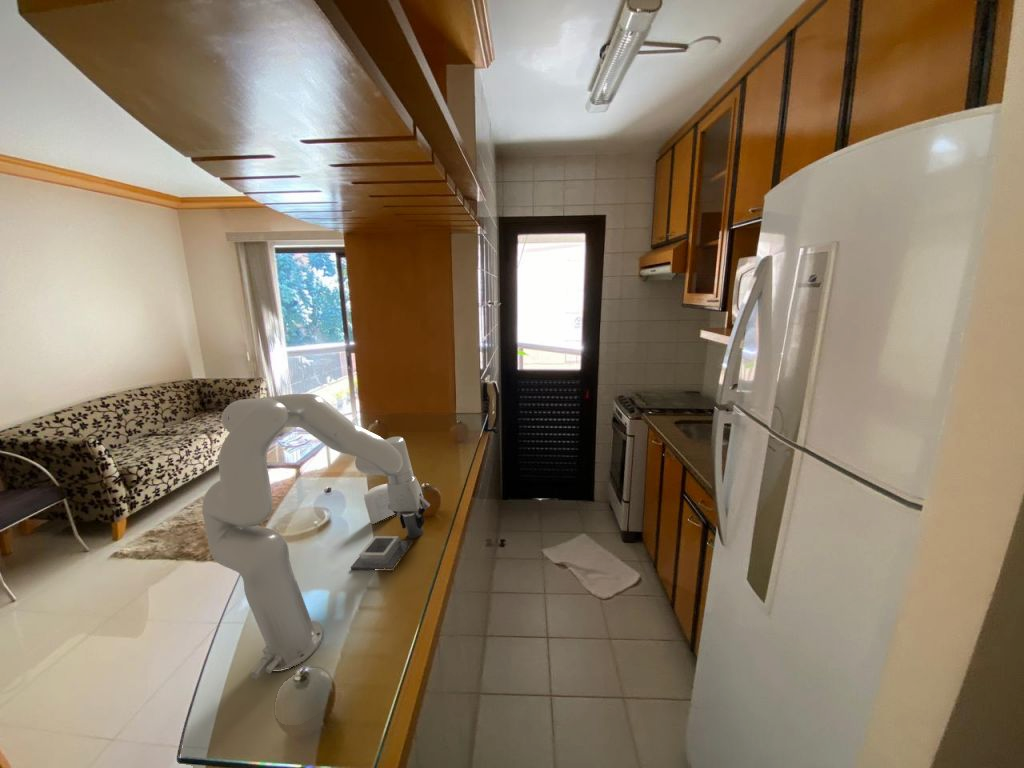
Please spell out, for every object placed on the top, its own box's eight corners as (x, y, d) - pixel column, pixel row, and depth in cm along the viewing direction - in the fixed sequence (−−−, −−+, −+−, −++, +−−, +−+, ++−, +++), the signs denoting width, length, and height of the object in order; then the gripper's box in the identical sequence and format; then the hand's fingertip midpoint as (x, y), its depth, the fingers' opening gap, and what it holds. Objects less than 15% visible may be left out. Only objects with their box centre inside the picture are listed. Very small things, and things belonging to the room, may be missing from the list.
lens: (419, 538, 126) (412, 513, 124) (404, 538, 127) (398, 513, 125) (426, 528, 131) (420, 504, 129) (412, 528, 132) (406, 504, 130)
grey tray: (393, 571, 113) (389, 559, 112) (351, 569, 117) (347, 558, 116) (412, 543, 125) (409, 532, 124) (373, 543, 128) (370, 532, 127)
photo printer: (397, 508, 147) (389, 479, 144) (401, 513, 143) (392, 483, 140) (369, 521, 142) (360, 490, 138) (372, 526, 138) (363, 495, 135)
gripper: (370, 482, 123) (384, 533, 127) (419, 480, 118) (432, 533, 123) (383, 471, 130) (396, 519, 134) (430, 468, 125) (442, 518, 130)
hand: (413, 525), depth 128 cm, fingers closed on lens, 5 cm apart
